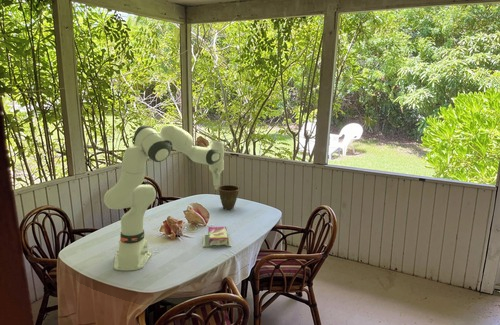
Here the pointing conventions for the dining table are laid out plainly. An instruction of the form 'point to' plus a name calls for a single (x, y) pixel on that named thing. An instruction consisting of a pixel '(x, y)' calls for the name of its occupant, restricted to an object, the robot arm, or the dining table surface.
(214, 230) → the candy bar box
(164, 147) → the robot arm
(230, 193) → the plant pot
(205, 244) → the mat
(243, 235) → the dining table surface
